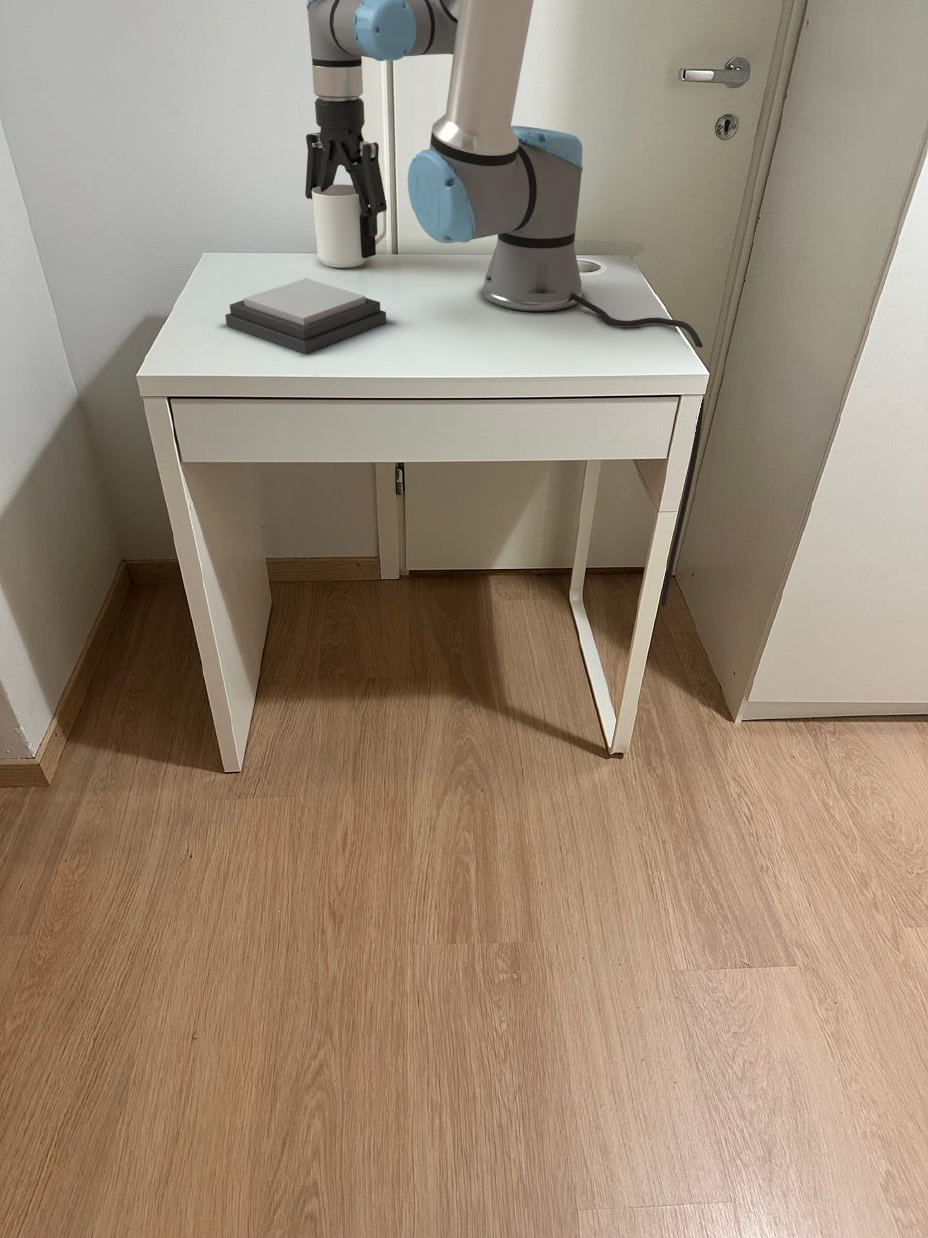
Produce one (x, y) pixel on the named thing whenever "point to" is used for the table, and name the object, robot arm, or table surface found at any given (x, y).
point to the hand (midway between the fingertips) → (348, 250)
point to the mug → (339, 226)
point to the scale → (306, 326)
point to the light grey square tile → (304, 301)
